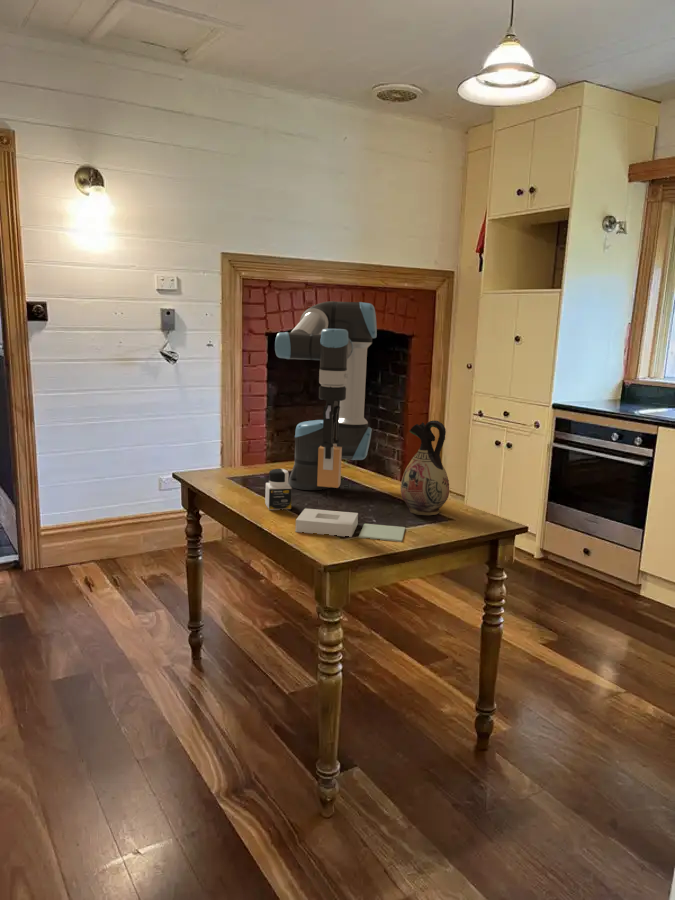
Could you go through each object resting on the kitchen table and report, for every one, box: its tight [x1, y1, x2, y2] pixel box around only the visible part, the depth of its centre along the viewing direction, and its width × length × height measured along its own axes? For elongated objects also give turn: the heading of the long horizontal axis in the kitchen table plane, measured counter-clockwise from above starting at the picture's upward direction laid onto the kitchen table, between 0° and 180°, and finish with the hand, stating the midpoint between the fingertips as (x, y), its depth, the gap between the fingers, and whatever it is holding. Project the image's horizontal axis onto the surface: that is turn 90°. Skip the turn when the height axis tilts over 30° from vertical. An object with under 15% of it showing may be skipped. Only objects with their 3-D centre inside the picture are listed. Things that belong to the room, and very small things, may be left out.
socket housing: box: [295, 507, 359, 538], centre depth 197 cm, size 12×16×4 cm
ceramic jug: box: [400, 420, 450, 516], centre depth 214 cm, size 17×15×30 cm
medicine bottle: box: [264, 468, 293, 511], centre depth 215 cm, size 7×7×12 cm
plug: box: [317, 446, 342, 489], centre depth 194 cm, size 4×6×11 cm, turn 80°
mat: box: [358, 523, 406, 543], centre depth 195 cm, size 12×12×1 cm
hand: (329, 467), depth 194 cm, fingers closed on plug, 4 cm apart
